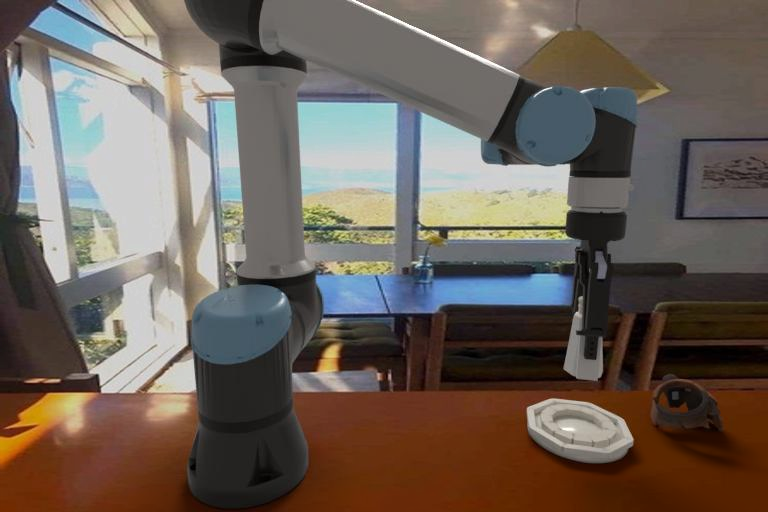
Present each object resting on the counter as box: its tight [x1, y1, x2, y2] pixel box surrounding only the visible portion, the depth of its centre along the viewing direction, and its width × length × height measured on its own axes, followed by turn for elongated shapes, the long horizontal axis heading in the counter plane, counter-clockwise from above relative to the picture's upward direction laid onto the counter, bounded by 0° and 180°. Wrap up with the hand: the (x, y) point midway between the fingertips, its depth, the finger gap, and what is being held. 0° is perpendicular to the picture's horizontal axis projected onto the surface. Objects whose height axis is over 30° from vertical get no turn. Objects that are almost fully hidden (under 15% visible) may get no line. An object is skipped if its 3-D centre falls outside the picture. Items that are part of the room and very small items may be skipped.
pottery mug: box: [650, 373, 724, 433], centre depth 73 cm, size 12×10×8 cm
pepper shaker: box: [563, 296, 604, 379], centre depth 67 cm, size 5×5×11 cm
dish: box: [526, 398, 635, 464], centre depth 70 cm, size 14×14×2 cm
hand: (582, 369), depth 68 cm, fingers closed on pepper shaker, 5 cm apart
